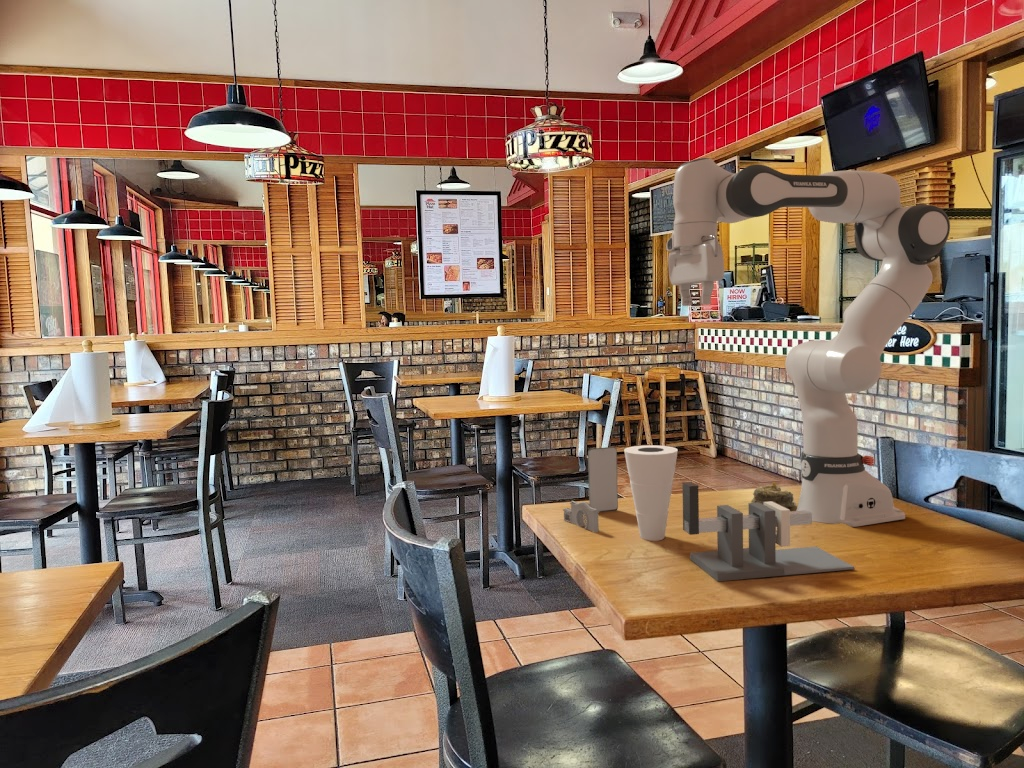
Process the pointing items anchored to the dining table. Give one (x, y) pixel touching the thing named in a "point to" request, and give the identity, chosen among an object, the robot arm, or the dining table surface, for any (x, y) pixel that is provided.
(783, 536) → the block
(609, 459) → the smartphone
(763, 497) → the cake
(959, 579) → the dining table surface
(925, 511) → the dining table surface
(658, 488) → the cup
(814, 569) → the mat
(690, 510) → the shaft
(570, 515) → the grey toothed piece
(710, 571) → the bearing stand
